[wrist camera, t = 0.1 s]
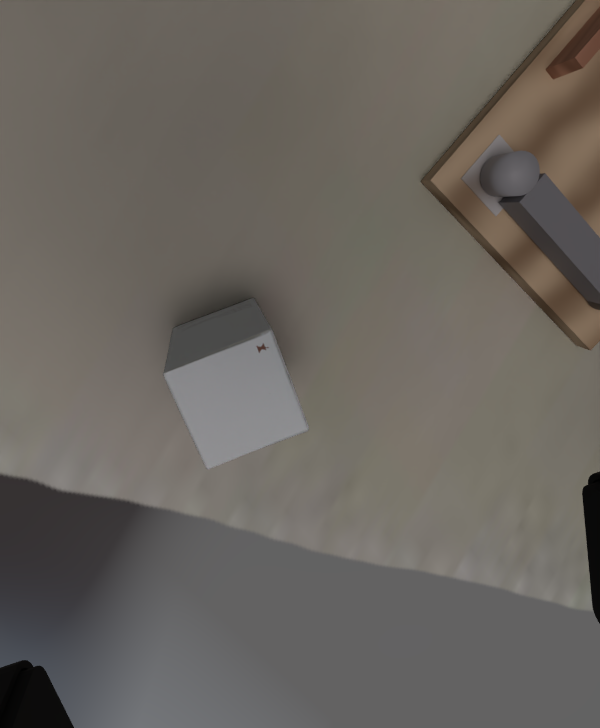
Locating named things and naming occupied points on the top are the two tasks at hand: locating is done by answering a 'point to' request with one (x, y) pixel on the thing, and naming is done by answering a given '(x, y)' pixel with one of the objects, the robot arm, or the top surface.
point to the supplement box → (232, 384)
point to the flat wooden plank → (553, 152)
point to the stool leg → (546, 218)
